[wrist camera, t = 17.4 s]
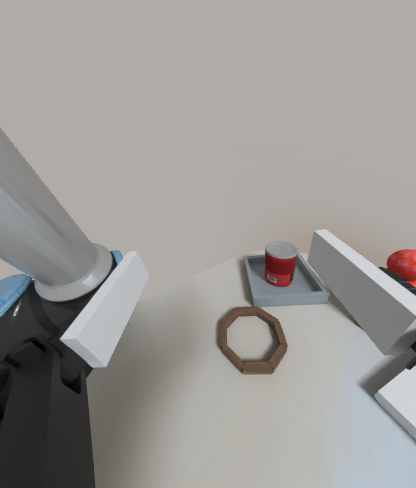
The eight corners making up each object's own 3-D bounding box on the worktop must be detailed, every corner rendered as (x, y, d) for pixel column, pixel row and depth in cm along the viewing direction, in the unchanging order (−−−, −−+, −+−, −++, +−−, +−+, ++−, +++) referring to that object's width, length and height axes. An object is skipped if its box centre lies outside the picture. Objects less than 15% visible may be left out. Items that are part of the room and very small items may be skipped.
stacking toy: (346, 302, 40) (375, 237, 30) (391, 311, 36) (439, 241, 27) (354, 331, 34) (393, 262, 24) (409, 345, 31) (479, 271, 21)
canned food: (296, 288, 45) (302, 256, 39) (266, 287, 46) (267, 257, 41) (289, 269, 51) (293, 240, 45) (262, 270, 53) (263, 241, 47)
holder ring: (222, 374, 31) (221, 369, 30) (221, 313, 43) (220, 308, 42) (294, 374, 30) (295, 369, 28) (273, 310, 41) (273, 305, 40)
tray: (253, 307, 43) (253, 298, 41) (244, 264, 58) (244, 256, 56) (326, 303, 40) (329, 294, 39) (296, 260, 56) (298, 252, 54)
